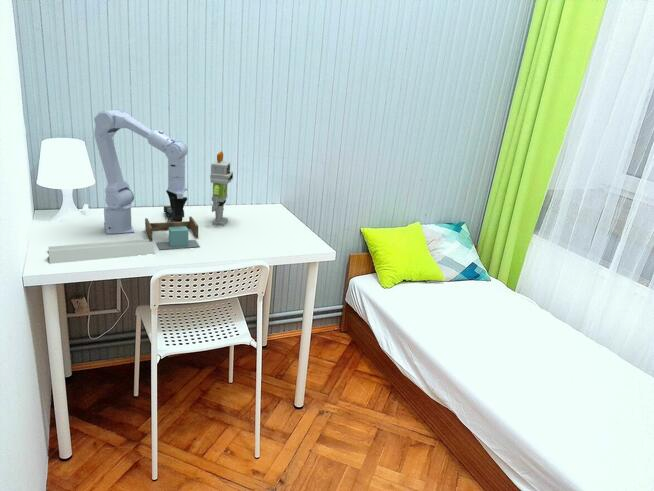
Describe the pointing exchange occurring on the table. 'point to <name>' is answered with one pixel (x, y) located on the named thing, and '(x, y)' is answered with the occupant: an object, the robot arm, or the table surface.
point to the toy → (220, 187)
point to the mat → (167, 246)
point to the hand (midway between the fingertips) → (176, 212)
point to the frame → (165, 226)
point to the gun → (173, 214)
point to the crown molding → (99, 251)
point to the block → (178, 236)
